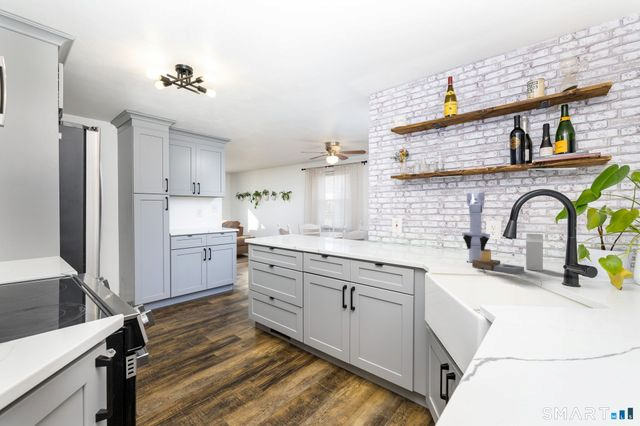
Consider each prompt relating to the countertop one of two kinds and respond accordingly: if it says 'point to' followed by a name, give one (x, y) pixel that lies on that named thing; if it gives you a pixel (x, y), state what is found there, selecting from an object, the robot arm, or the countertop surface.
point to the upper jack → (485, 263)
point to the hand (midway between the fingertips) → (475, 249)
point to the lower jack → (509, 268)
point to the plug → (486, 255)
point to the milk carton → (534, 252)
